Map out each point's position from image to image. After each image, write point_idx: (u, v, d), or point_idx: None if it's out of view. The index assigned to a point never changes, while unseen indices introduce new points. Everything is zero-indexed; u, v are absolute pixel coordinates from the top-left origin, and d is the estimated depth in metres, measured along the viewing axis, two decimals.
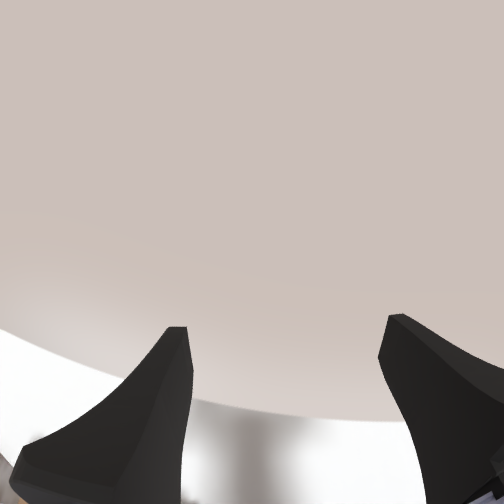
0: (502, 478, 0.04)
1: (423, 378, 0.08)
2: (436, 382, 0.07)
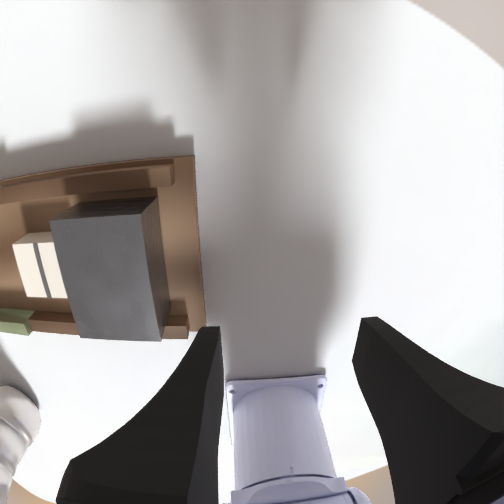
0: (469, 496, 0.04)
1: (392, 385, 0.08)
2: (405, 390, 0.07)
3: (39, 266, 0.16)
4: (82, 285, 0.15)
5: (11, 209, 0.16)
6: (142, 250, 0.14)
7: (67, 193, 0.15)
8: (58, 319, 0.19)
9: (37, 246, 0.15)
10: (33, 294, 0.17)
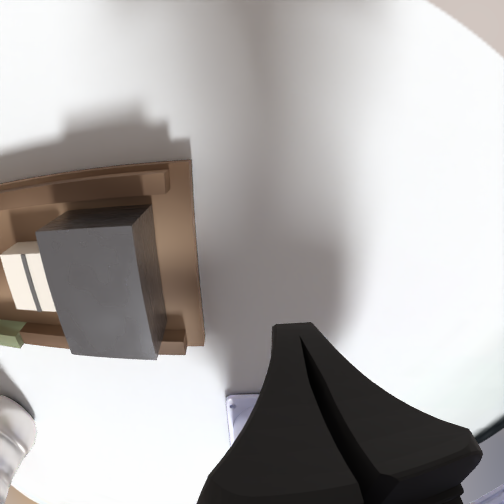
0: None
1: (313, 397, 0.08)
2: (321, 404, 0.07)
3: (28, 279, 0.14)
4: (72, 300, 0.13)
5: None
6: (134, 265, 0.13)
7: (55, 201, 0.14)
8: (50, 332, 0.17)
9: (25, 257, 0.14)
10: (23, 307, 0.15)
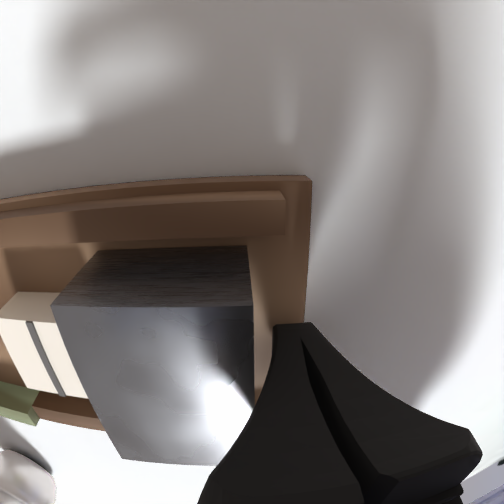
0: None
1: None
2: (321, 404, 0.07)
3: (41, 355, 0.09)
4: (125, 406, 0.08)
5: None
6: (248, 364, 0.08)
7: (79, 239, 0.09)
8: (76, 410, 0.12)
9: (34, 326, 0.09)
10: (37, 387, 0.10)
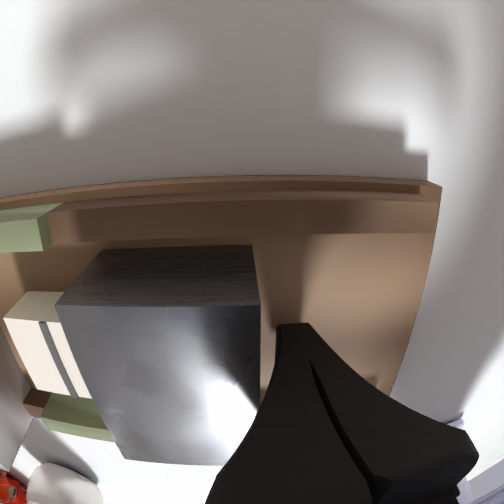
0: None
1: None
2: None
3: (54, 357, 0.09)
4: (129, 407, 0.08)
5: (80, 248, 0.10)
6: (255, 364, 0.08)
7: (244, 232, 0.09)
8: None
9: (48, 326, 0.09)
10: (47, 388, 0.10)
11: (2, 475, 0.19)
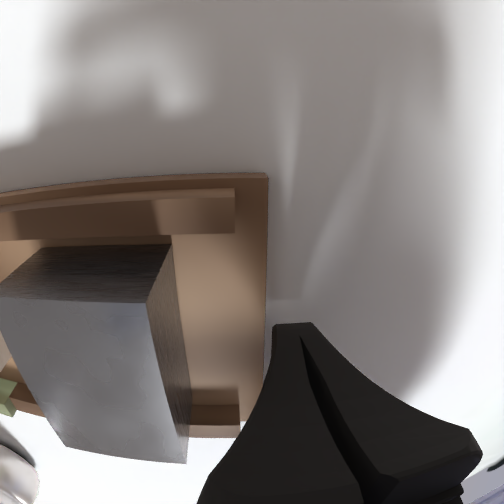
0: None
1: (314, 397, 0.08)
2: (321, 404, 0.07)
3: None
4: (56, 394, 0.08)
5: None
6: (152, 362, 0.07)
7: (42, 236, 0.08)
8: None
9: None
10: None
11: None
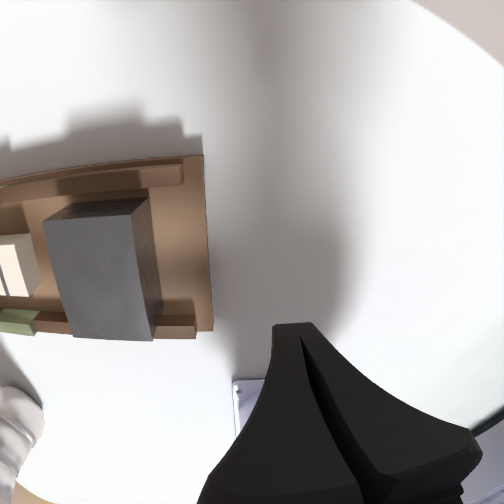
0: None
1: (314, 397, 0.08)
2: (321, 404, 0.07)
3: None
4: (74, 285, 0.15)
5: (16, 208, 0.16)
6: (132, 251, 0.14)
7: (74, 192, 0.15)
8: (64, 319, 0.19)
9: None
10: None
11: None
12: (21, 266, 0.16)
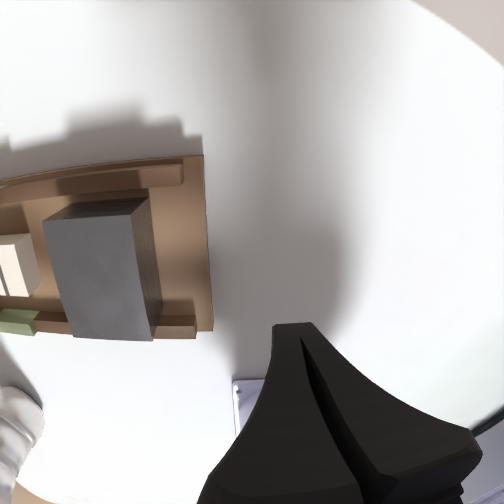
0: None
1: (314, 397, 0.08)
2: (321, 404, 0.07)
3: None
4: (74, 285, 0.15)
5: (16, 208, 0.16)
6: (132, 251, 0.14)
7: (74, 192, 0.15)
8: (64, 319, 0.19)
9: None
10: None
11: None
12: (21, 266, 0.16)
